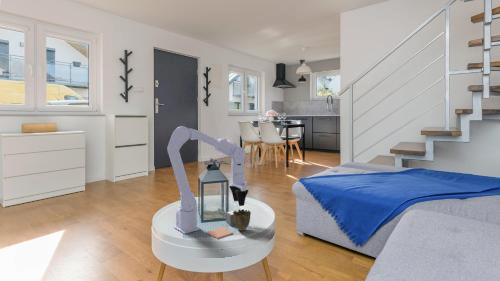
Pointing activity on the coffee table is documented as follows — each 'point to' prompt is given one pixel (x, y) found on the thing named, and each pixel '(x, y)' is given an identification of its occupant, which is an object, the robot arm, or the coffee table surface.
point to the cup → (242, 219)
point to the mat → (219, 232)
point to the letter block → (230, 218)
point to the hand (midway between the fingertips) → (238, 203)
